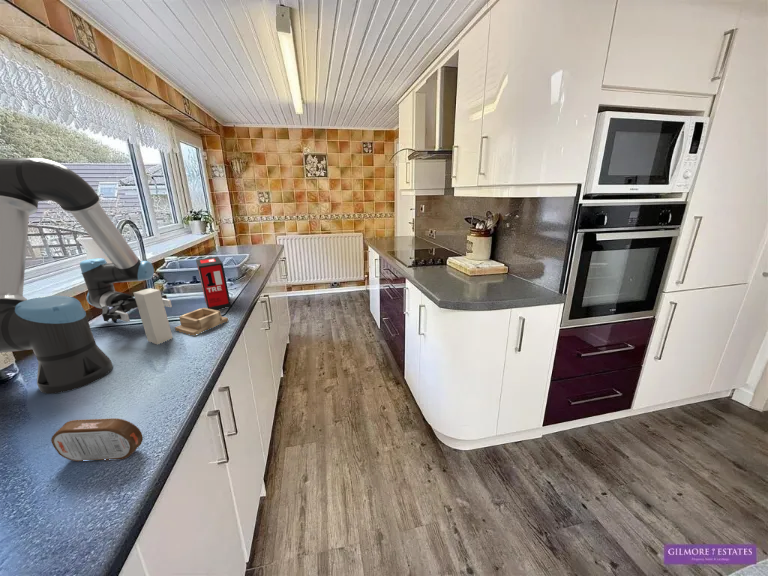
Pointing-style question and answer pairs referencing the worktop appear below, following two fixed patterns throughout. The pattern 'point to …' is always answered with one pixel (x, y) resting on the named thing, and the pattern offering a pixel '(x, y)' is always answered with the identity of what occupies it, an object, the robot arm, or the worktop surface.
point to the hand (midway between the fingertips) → (150, 310)
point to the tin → (97, 439)
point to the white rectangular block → (153, 315)
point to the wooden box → (200, 321)
